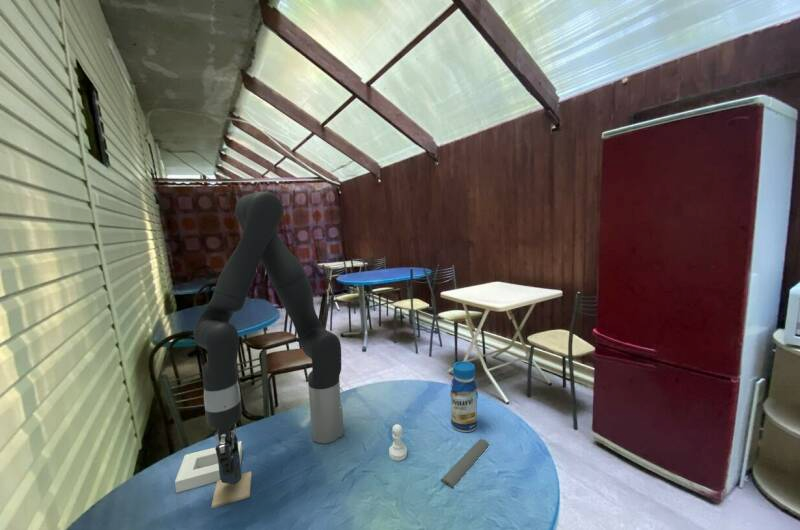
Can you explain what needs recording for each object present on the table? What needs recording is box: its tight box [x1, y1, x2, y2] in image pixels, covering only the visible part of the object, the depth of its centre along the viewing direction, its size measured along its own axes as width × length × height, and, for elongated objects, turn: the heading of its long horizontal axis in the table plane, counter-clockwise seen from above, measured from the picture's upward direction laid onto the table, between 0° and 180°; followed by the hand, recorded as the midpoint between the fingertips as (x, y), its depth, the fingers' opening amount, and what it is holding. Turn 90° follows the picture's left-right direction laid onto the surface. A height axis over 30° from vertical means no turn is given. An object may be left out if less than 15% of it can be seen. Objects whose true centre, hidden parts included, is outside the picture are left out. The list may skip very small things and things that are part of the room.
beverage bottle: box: [449, 360, 479, 433], centre depth 101 cm, size 8×8×20 cm
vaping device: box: [217, 436, 242, 484], centre depth 79 cm, size 3×5×12 cm, turn 78°
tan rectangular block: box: [211, 470, 252, 509], centre depth 80 cm, size 8×8×1 cm
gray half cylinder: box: [440, 438, 490, 489], centre depth 87 cm, size 4×20×2 cm, turn 137°
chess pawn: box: [388, 423, 408, 462], centre depth 90 cm, size 5×5×9 cm
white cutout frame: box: [174, 440, 244, 493], centre depth 86 cm, size 14×10×3 cm
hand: (229, 466), depth 79 cm, fingers closed on vaping device, 3 cm apart
